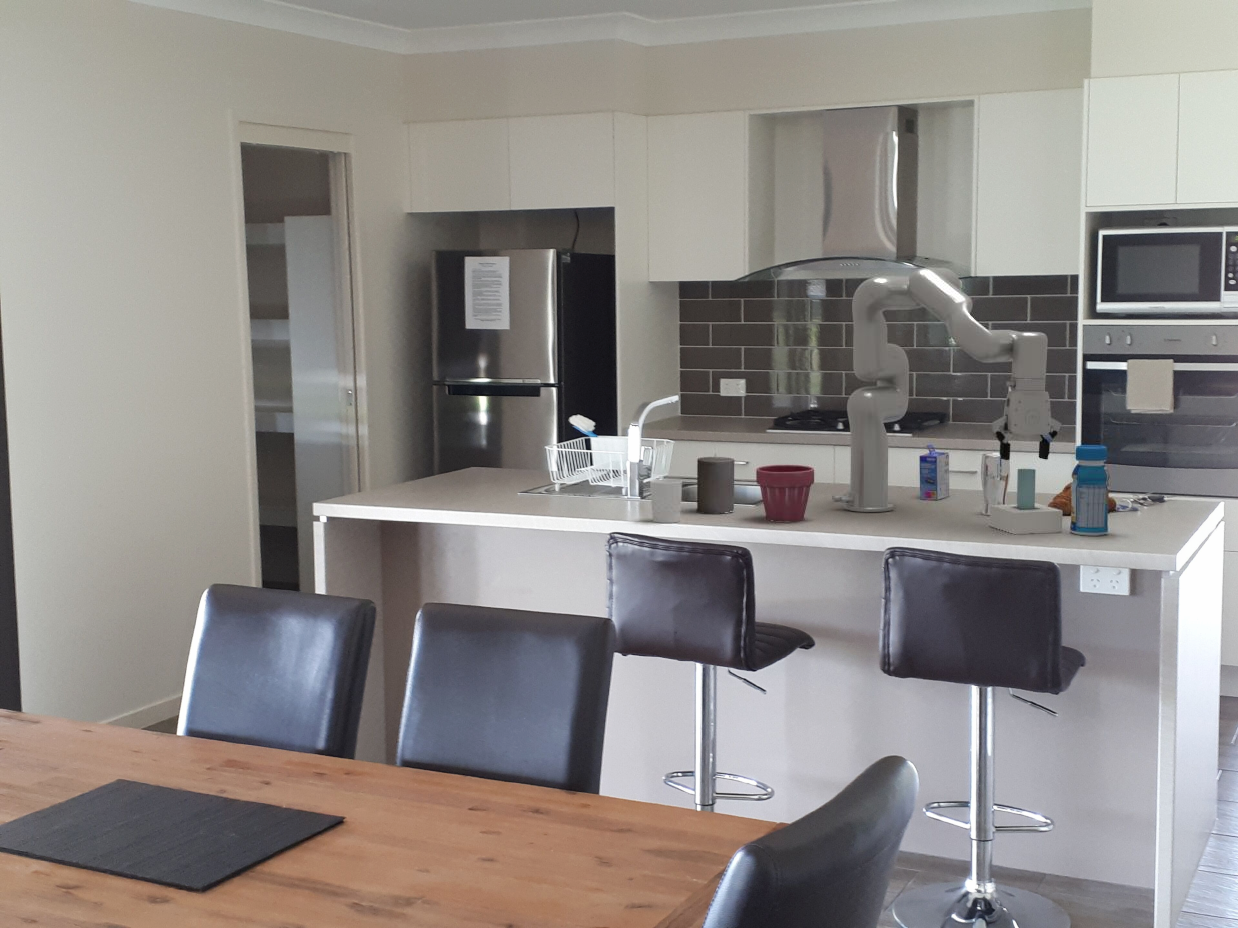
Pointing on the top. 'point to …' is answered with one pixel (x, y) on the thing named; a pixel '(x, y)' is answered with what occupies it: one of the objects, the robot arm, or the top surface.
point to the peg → (1026, 489)
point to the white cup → (666, 500)
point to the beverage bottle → (1090, 492)
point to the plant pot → (785, 490)
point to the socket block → (1026, 519)
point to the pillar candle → (715, 485)
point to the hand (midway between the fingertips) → (1024, 459)
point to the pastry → (1064, 501)
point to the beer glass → (994, 480)
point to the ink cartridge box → (934, 475)
